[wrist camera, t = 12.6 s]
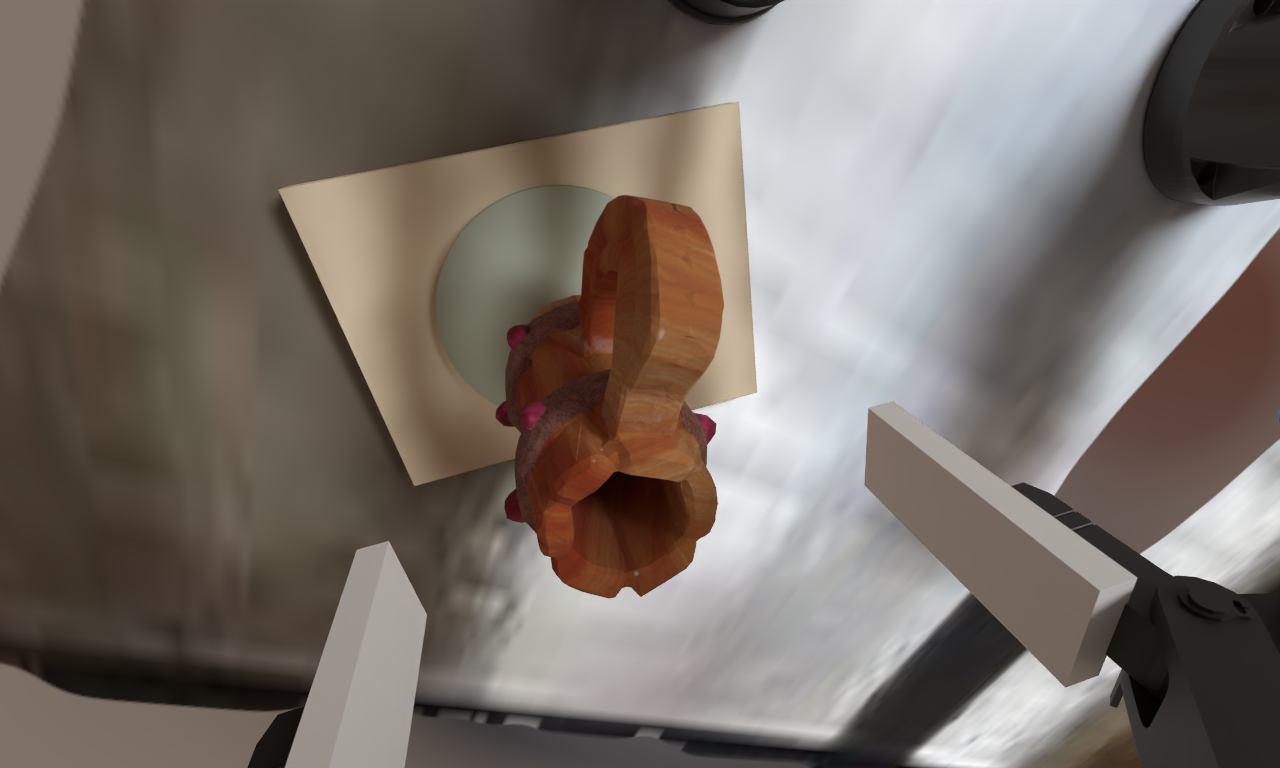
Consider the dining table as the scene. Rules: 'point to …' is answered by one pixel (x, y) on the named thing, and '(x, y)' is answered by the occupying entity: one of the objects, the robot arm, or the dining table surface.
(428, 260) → the serving board
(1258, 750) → the robot arm
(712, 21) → the french press
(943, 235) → the dining table surface
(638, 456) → the mug
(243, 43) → the dining table surface
